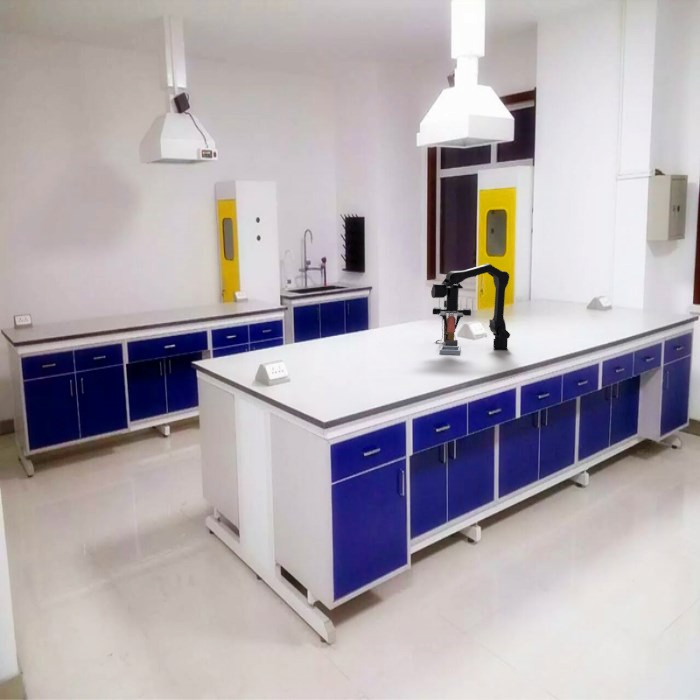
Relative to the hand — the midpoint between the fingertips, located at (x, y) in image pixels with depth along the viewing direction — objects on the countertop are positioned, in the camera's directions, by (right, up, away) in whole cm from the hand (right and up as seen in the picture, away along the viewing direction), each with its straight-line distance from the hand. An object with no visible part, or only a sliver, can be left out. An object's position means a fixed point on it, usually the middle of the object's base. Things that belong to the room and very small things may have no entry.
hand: (451, 328), depth 315 cm
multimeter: (-1, -7, +23) cm, 24 cm away
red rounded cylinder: (0, -2, 0) cm, 2 cm away
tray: (0, -12, +2) cm, 12 cm away
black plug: (+2, -6, +13) cm, 15 cm away
